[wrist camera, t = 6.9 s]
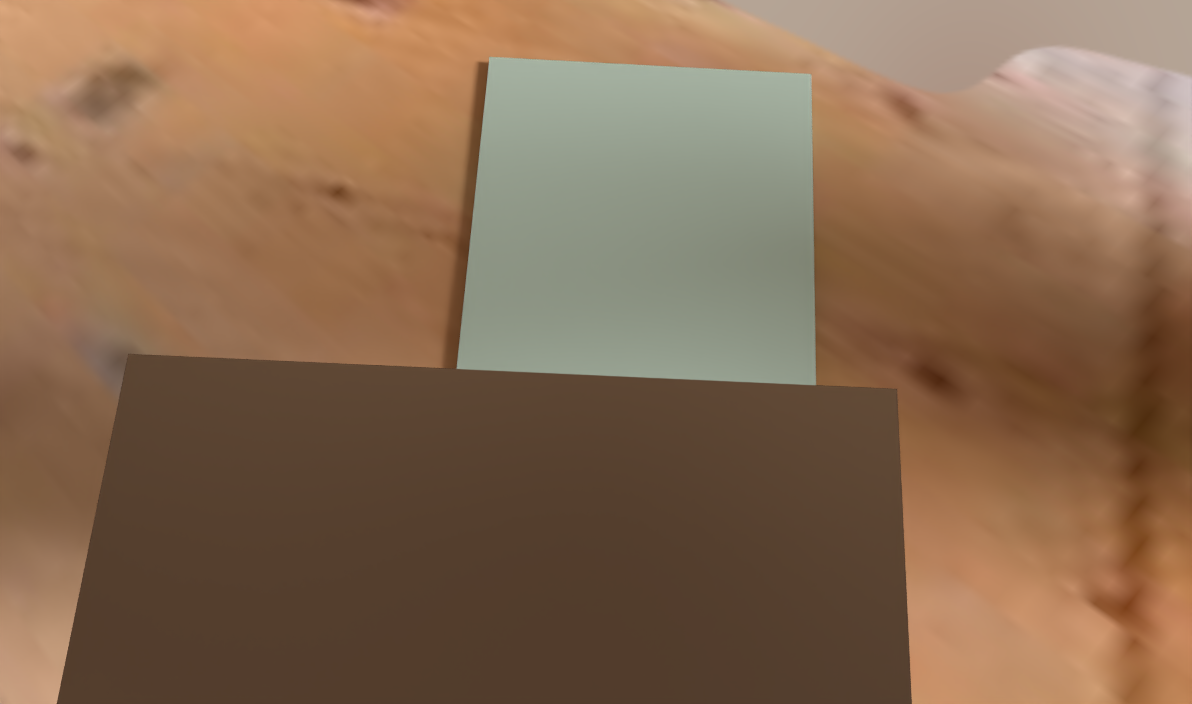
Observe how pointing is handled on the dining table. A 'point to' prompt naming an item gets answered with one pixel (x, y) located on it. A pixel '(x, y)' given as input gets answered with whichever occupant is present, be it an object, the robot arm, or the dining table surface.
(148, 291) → the dining table surface
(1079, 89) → the dining table surface
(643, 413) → the walnut block
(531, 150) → the mat
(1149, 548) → the dining table surface
